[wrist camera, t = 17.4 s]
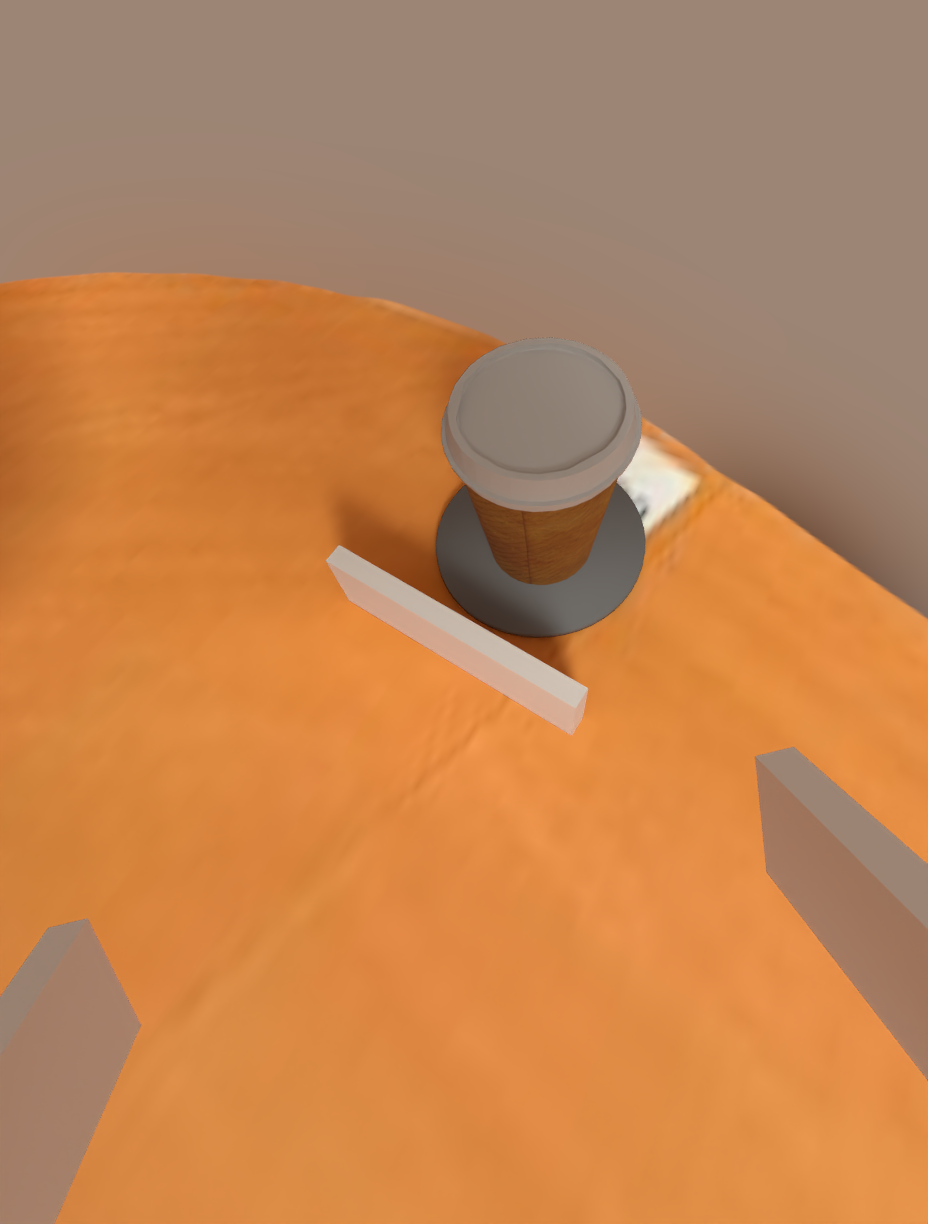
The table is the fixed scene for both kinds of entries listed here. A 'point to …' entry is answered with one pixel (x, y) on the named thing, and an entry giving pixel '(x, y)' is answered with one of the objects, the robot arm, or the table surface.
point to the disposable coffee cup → (541, 450)
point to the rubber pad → (540, 605)
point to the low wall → (461, 641)
